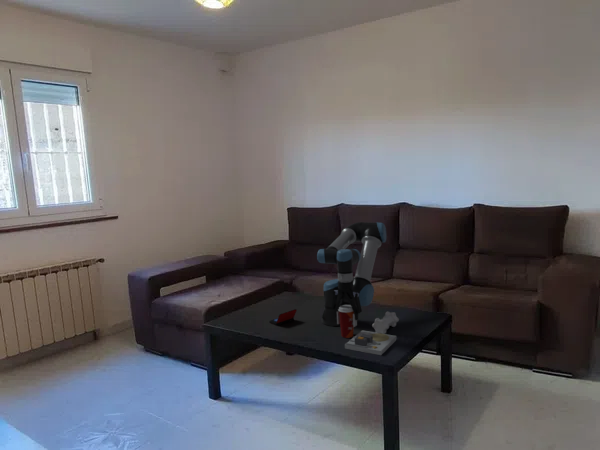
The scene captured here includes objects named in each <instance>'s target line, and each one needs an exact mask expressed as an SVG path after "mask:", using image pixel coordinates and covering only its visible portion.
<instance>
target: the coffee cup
mask: <svg viewBox="0 0 600 450" xmlns="http://www.w3.org/2000/svg"><path fill="white" fill-rule="evenodd" d="M338 311H339V317H340V326H339V327H340V334H341V337H342V338H344V339H349V338H351V339H352V338H353V337H354V328H355V327H353V314H354V311H353V309H352V307H351V305H342V306H340V307H339V309H338Z"/></svg>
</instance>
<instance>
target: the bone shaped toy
mask: <svg viewBox="0 0 600 450" xmlns="http://www.w3.org/2000/svg"><path fill="white" fill-rule="evenodd" d="M399 320H400V319H399V317H397V315H396V312H395V311H394V312H393V311H391V312H390V311H386V312H385V313H384V316H383V317H382V318H380V317H376V318H375V319H374V322H373V323H372V325H371V326H372V328H373V329H374V332H375V333H381V334H387V330H388V329H389V328H390V326H391V327H393V328H395V327H396V326H397V323H398V322H399Z"/></svg>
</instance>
